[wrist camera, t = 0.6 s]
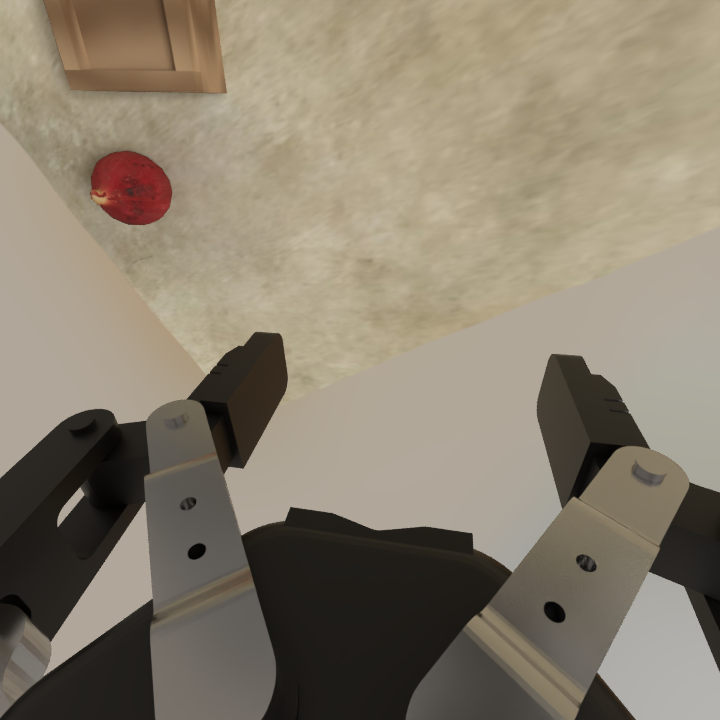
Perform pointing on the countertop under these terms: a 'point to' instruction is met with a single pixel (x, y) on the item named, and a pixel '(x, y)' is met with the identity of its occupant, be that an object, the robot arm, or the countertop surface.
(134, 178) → the onion
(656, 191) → the countertop surface
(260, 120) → the countertop surface
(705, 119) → the countertop surface
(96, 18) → the wooden box
